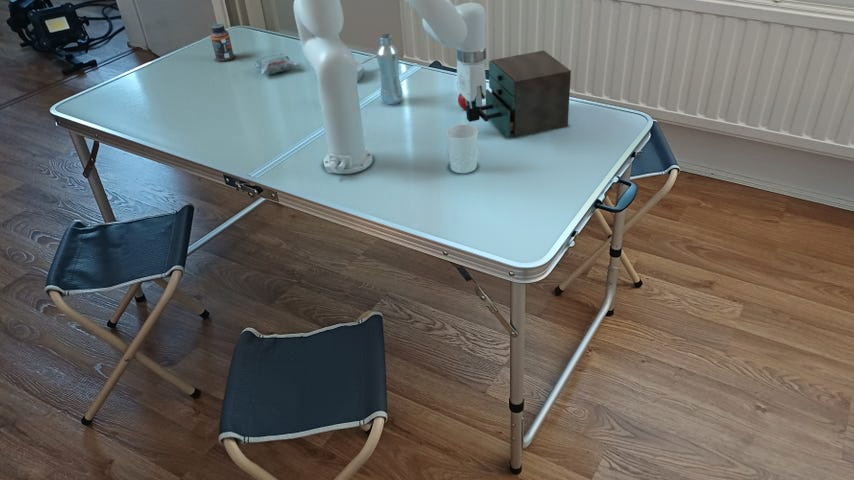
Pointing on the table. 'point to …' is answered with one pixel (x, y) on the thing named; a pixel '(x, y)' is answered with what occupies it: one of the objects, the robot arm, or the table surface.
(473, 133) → the white cup
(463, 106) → the apple
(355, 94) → the robot arm
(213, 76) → the table surface
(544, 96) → the cabinet
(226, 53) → the supplement bottle
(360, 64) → the small pan
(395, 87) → the silver water bottle
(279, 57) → the packaged food
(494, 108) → the drawer
